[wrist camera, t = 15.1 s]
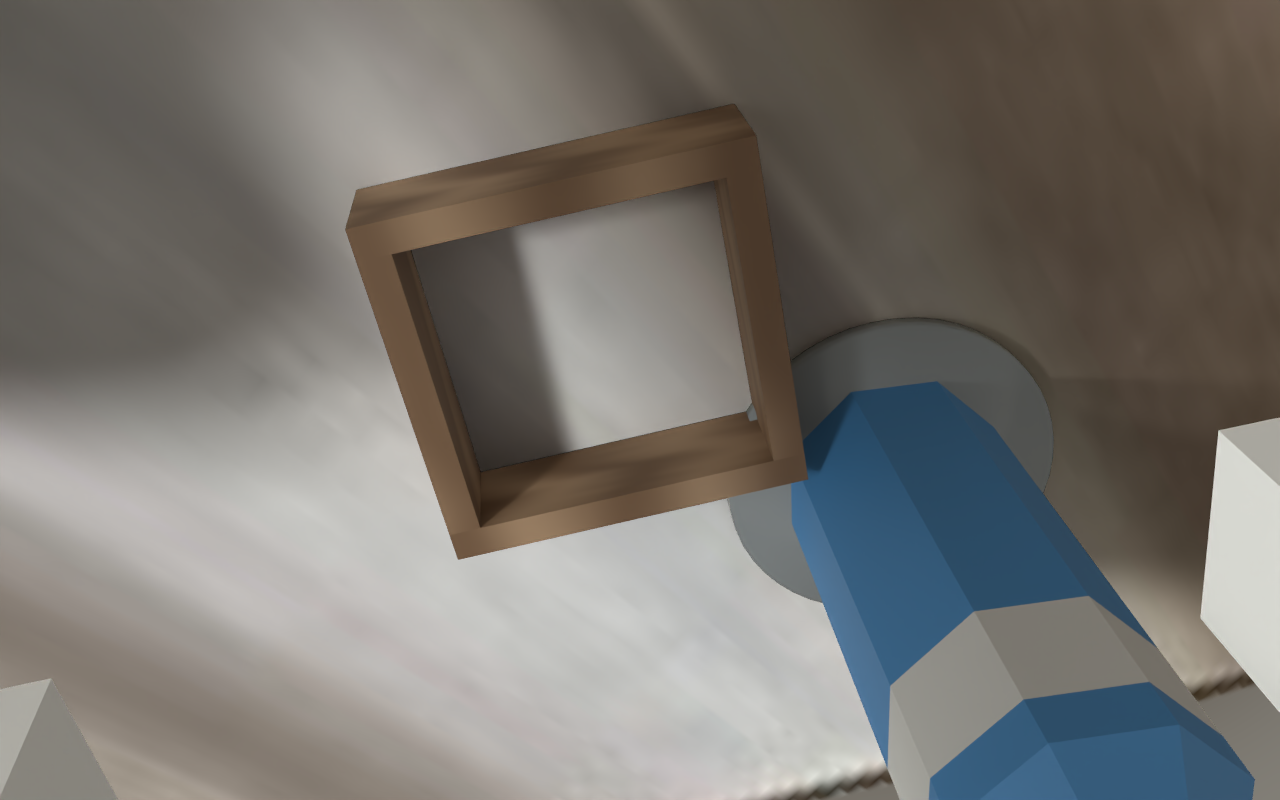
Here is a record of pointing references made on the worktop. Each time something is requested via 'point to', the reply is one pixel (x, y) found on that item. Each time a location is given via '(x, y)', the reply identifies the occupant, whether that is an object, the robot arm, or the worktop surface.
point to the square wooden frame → (618, 471)
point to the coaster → (888, 361)
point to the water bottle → (987, 620)
